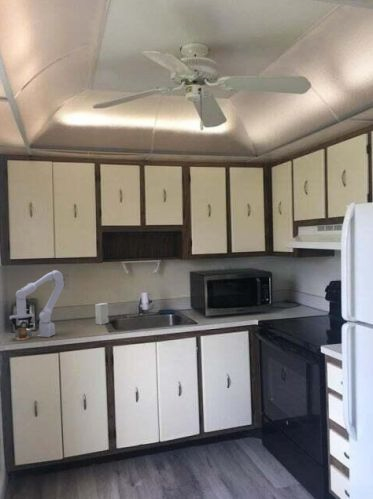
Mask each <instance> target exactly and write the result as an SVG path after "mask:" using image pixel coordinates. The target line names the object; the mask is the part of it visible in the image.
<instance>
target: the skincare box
mask: <svg viewBox="0 0 373 499" xmlns="http://www.w3.org/2000/svg"><path fill="white" fill-rule="evenodd" d="M94 306H95V308H94V311H95V324H96V325H104V324H108V323H109V303H107V302H100V303H96V304H94Z"/></svg>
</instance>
